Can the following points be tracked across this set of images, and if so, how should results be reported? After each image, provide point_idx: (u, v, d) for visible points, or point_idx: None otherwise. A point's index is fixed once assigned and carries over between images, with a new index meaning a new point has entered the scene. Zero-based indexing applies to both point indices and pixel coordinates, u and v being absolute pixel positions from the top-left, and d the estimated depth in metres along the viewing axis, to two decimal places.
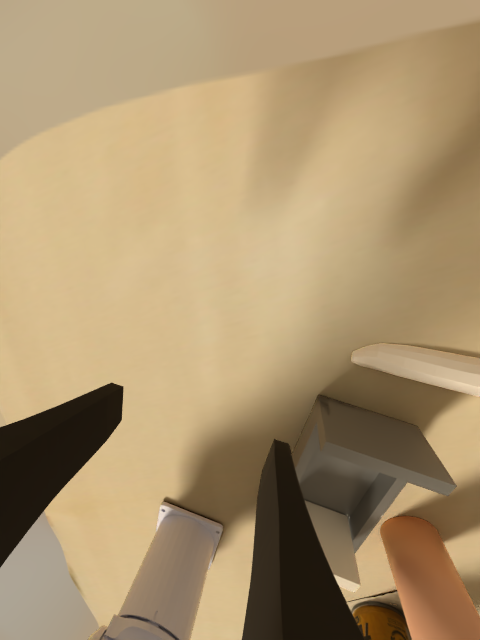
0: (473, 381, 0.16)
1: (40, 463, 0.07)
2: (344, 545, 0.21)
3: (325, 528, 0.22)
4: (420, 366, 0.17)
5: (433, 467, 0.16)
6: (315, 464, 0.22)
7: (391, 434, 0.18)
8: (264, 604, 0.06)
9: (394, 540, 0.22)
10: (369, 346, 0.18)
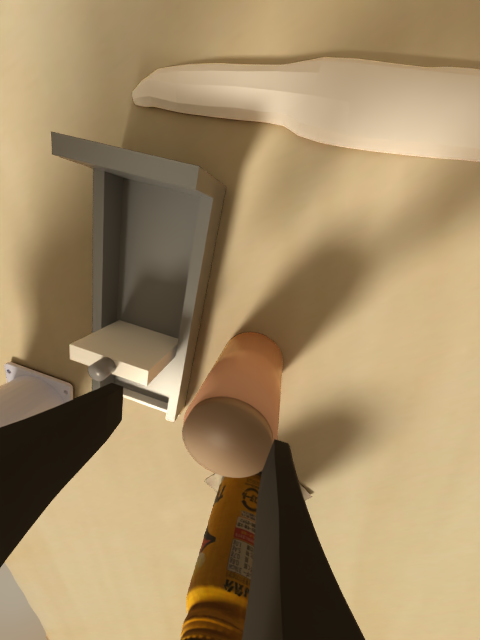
0: (248, 81, 0.13)
1: (40, 463, 0.07)
2: (156, 351, 0.18)
3: (143, 340, 0.18)
4: (193, 77, 0.14)
5: None
6: (134, 268, 0.19)
7: None
8: (264, 604, 0.06)
9: (222, 352, 0.18)
10: None
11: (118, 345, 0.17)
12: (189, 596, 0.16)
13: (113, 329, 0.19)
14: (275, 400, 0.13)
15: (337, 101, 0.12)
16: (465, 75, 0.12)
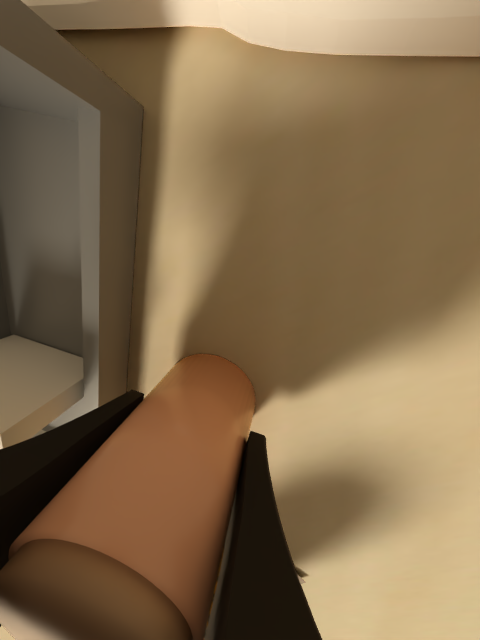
0: None
1: (68, 474, 0.07)
2: (43, 388, 0.11)
3: (32, 368, 0.12)
4: None
5: None
6: (20, 254, 0.12)
7: None
8: (224, 587, 0.06)
9: None
10: None
11: None
12: None
13: None
14: (213, 513, 0.06)
15: None
16: None
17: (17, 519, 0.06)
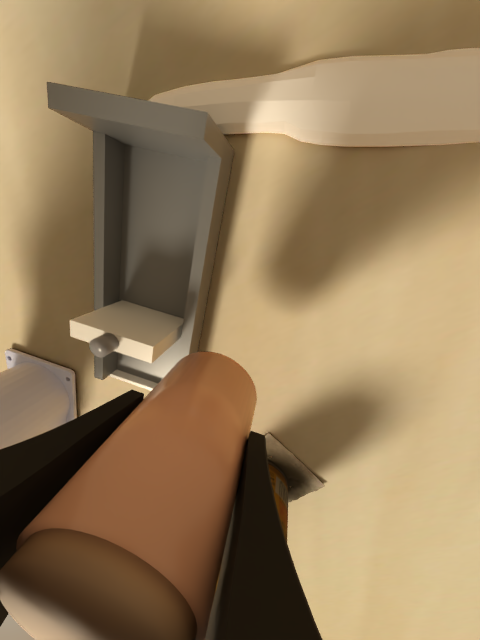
0: (244, 95, 0.13)
1: (68, 474, 0.07)
2: (161, 328, 0.17)
3: (147, 318, 0.18)
4: (189, 99, 0.14)
5: None
6: (137, 243, 0.18)
7: None
8: (224, 587, 0.06)
9: None
10: None
11: (121, 322, 0.16)
12: None
13: (116, 307, 0.18)
14: (217, 506, 0.07)
15: (337, 102, 0.12)
16: (470, 56, 0.11)
17: (17, 519, 0.06)
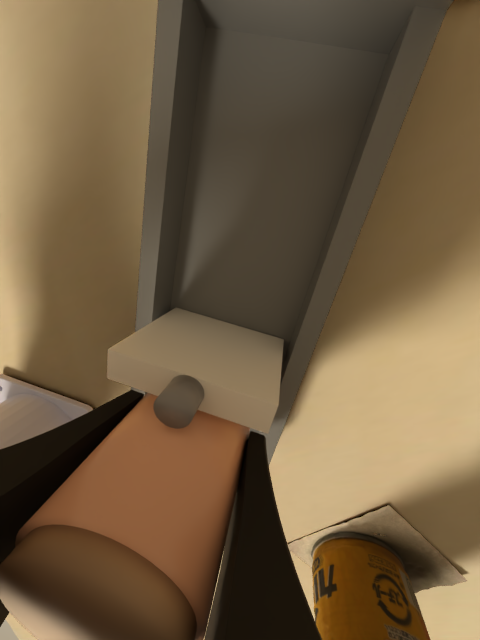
0: None
1: (68, 474, 0.07)
2: (261, 359, 0.09)
3: (229, 340, 0.10)
4: None
5: None
6: (210, 213, 0.11)
7: None
8: (224, 586, 0.06)
9: None
10: None
11: (195, 350, 0.09)
12: None
13: (174, 321, 0.11)
14: (218, 506, 0.07)
15: None
16: None
17: (17, 519, 0.06)
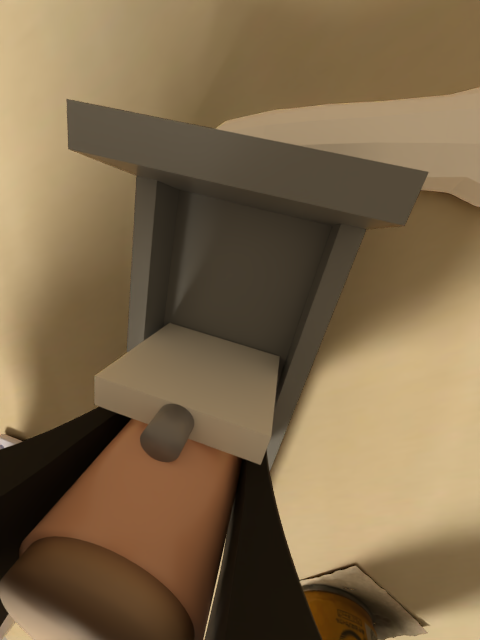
0: (399, 132, 0.07)
1: (68, 474, 0.07)
2: (255, 382, 0.09)
3: (222, 360, 0.10)
4: (293, 133, 0.08)
5: None
6: (188, 327, 0.12)
7: None
8: (224, 587, 0.06)
9: None
10: None
11: (187, 373, 0.09)
12: None
13: (166, 339, 0.11)
14: (215, 515, 0.07)
15: None
16: None
17: (17, 519, 0.06)
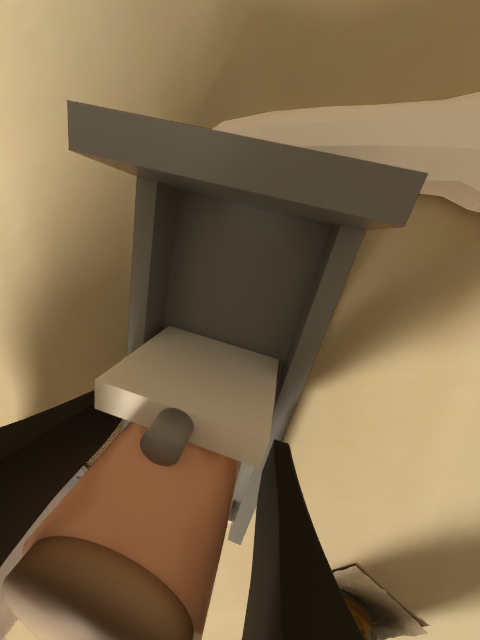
0: (394, 136, 0.08)
1: (40, 463, 0.07)
2: (255, 385, 0.09)
3: (222, 363, 0.10)
4: (289, 135, 0.08)
5: None
6: (188, 327, 0.12)
7: None
8: (264, 604, 0.06)
9: None
10: None
11: (186, 377, 0.09)
12: None
13: (166, 342, 0.11)
14: (214, 515, 0.07)
15: None
16: None
17: None
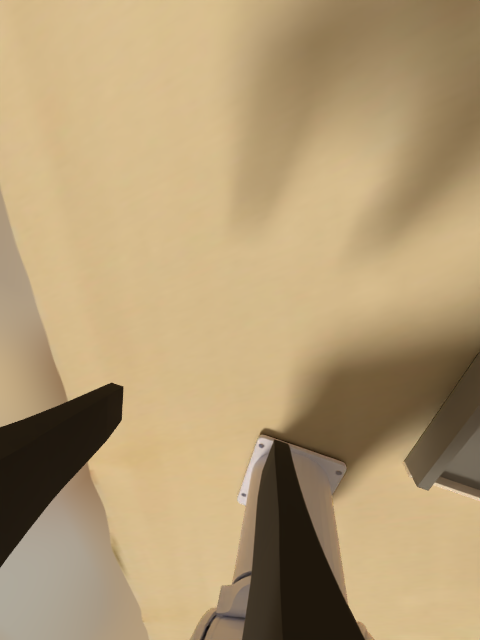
0: None
1: (40, 463, 0.07)
2: None
3: None
4: None
5: None
6: None
7: None
8: (264, 604, 0.06)
9: None
10: None
11: None
12: None
13: None
14: None
15: None
16: None
17: None
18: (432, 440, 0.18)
